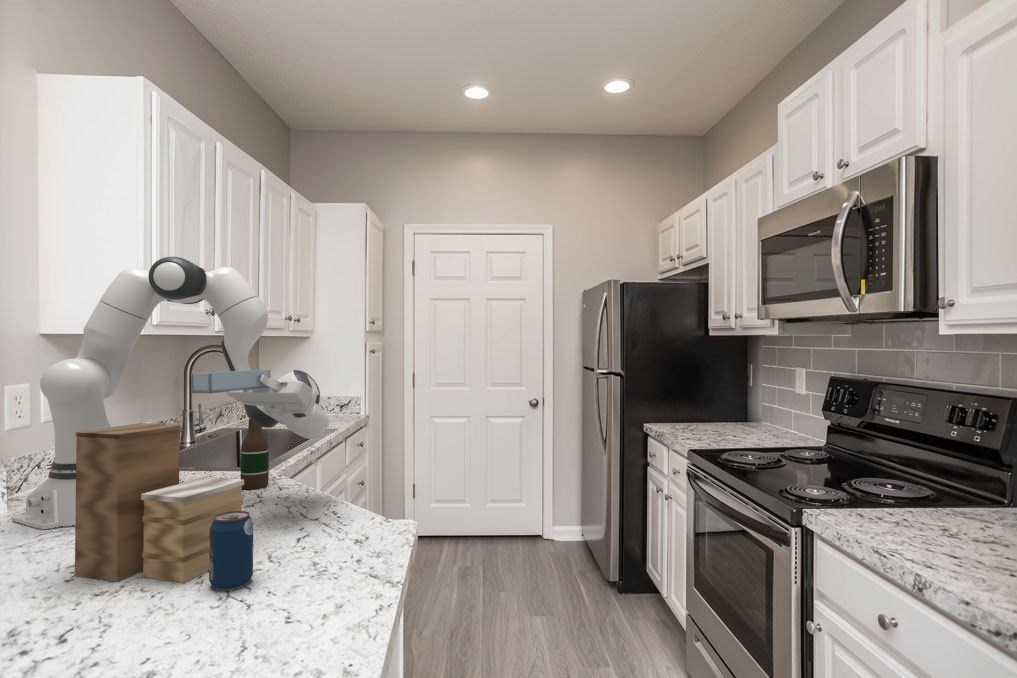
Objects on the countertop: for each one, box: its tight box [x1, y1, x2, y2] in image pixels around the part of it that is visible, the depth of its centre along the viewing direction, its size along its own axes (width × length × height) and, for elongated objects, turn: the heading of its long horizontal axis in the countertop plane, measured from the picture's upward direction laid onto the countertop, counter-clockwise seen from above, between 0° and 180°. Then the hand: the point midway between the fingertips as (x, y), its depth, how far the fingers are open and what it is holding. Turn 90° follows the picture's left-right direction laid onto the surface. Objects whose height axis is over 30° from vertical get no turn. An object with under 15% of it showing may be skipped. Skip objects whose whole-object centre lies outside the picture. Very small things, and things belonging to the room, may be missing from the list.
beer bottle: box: [240, 418, 270, 491], centre depth 171 cm, size 8×8×24 cm
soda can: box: [208, 510, 254, 592], centre depth 100 cm, size 7×7×12 cm
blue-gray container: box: [191, 369, 271, 394], centre depth 124 cm, size 4×18×4 cm, turn 164°
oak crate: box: [141, 476, 244, 584], centre depth 109 cm, size 10×15×15 cm, turn 164°
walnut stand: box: [74, 422, 182, 583], centre depth 109 cm, size 10×13×26 cm
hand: (249, 377), depth 129 cm, fingers closed on blue-gray container, 4 cm apart
